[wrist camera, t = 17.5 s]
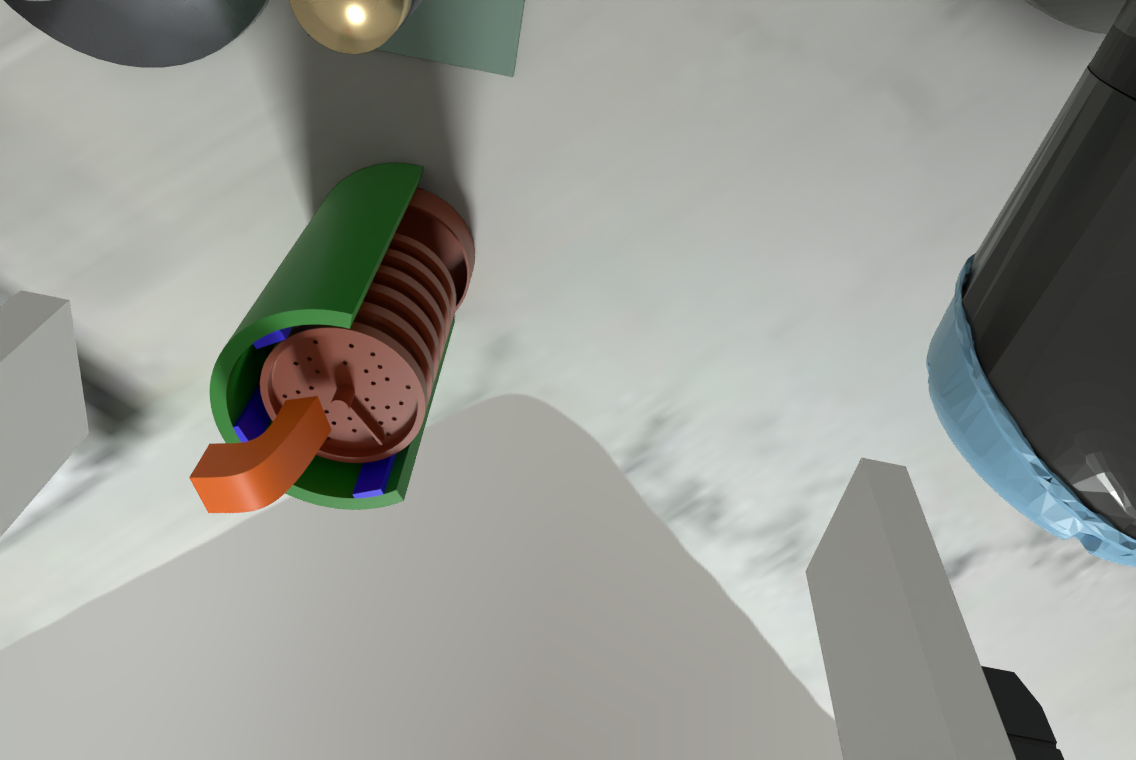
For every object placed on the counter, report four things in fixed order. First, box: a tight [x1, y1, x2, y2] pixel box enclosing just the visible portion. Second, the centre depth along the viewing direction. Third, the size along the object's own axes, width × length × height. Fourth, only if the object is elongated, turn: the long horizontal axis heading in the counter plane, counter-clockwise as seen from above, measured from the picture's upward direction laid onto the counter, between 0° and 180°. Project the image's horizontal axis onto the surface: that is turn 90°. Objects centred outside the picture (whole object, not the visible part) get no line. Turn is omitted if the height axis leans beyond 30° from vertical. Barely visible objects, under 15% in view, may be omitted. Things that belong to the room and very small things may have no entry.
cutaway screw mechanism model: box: [189, 163, 475, 513], centre depth 41 cm, size 10×9×20 cm
